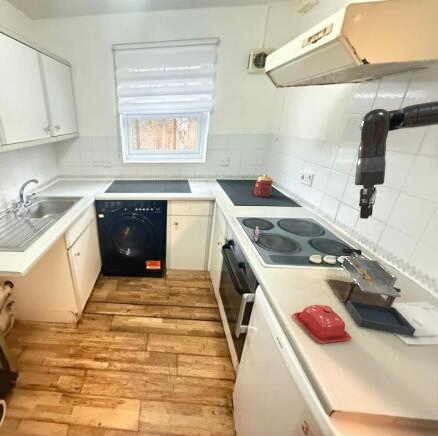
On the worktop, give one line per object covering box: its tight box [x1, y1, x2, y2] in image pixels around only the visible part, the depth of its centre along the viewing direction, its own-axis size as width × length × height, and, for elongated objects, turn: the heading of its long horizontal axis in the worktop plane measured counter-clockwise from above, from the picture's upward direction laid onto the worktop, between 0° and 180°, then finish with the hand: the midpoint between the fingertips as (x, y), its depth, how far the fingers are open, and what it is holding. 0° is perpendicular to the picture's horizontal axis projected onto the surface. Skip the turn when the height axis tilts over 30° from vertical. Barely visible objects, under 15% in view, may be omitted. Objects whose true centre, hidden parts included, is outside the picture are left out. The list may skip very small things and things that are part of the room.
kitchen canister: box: [253, 174, 274, 198], centre depth 197 cm, size 13×13×18 cm
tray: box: [345, 300, 416, 337], centre depth 76 cm, size 13×9×2 cm
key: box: [359, 269, 371, 280], centre depth 84 cm, size 6×3×1 cm, turn 164°
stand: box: [327, 278, 402, 307], centre depth 85 cm, size 13×14×9 cm
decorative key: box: [253, 225, 260, 243], centre depth 130 cm, size 7×1×20 cm
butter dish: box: [292, 304, 353, 344], centre depth 71 cm, size 12×12×8 cm
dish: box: [341, 247, 402, 298], centre depth 84 cm, size 22×10×5 cm, turn 164°
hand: (366, 217), depth 85 cm, fingers open, 8 cm apart
